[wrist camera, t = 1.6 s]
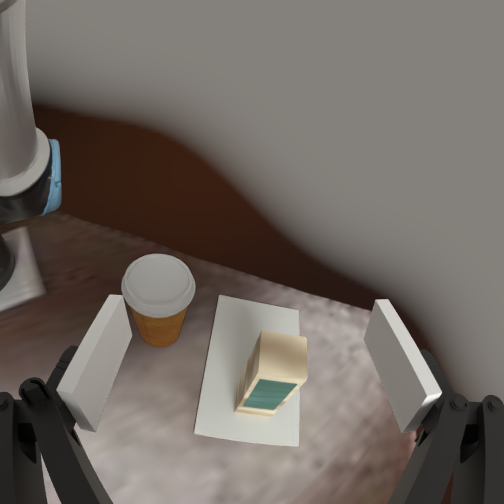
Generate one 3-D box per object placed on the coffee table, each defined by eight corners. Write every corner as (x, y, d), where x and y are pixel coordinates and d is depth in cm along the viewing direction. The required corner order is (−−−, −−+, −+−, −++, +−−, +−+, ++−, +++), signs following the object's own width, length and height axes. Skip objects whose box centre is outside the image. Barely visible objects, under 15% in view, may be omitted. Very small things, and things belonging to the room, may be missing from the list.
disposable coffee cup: (166, 295, 50) (167, 241, 42) (202, 336, 46) (211, 286, 38) (117, 322, 44) (107, 269, 36) (152, 368, 40) (147, 323, 32)
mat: (297, 446, 35) (298, 445, 35) (193, 433, 34) (193, 433, 34) (298, 311, 53) (298, 310, 53) (219, 296, 52) (219, 294, 52)
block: (270, 418, 38) (307, 379, 28) (234, 413, 37) (258, 372, 28) (272, 386, 42) (306, 337, 32) (238, 381, 41) (261, 329, 32)
